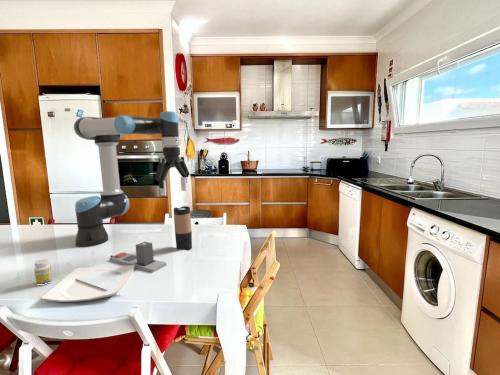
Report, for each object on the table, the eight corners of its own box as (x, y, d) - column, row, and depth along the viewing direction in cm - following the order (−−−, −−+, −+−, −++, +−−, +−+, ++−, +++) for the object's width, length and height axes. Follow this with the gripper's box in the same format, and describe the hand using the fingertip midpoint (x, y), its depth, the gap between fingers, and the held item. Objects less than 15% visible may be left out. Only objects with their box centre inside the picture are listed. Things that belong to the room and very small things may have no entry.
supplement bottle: (42, 280, 107) (38, 259, 105) (55, 279, 107) (52, 258, 106) (33, 286, 102) (30, 264, 101) (47, 285, 102) (44, 263, 101)
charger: (137, 266, 114) (135, 244, 113) (146, 262, 118) (144, 241, 117) (145, 268, 112) (143, 246, 111) (153, 264, 116) (152, 242, 115)
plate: (115, 303, 90) (115, 295, 90) (35, 308, 88) (34, 300, 88) (139, 269, 114) (138, 263, 114) (76, 273, 112) (75, 267, 112)
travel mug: (188, 252, 131) (185, 210, 128) (173, 251, 132) (170, 209, 129) (194, 246, 138) (192, 206, 135) (180, 245, 140) (177, 206, 137)
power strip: (104, 261, 123) (103, 254, 122) (118, 255, 129) (117, 249, 128) (153, 274, 108) (152, 267, 108) (166, 267, 114) (166, 260, 114)
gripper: (156, 147, 115) (160, 198, 118) (195, 146, 137) (197, 189, 140) (143, 147, 119) (147, 197, 122) (183, 146, 140) (185, 188, 144)
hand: (174, 193), depth 131 cm, fingers open, 13 cm apart
